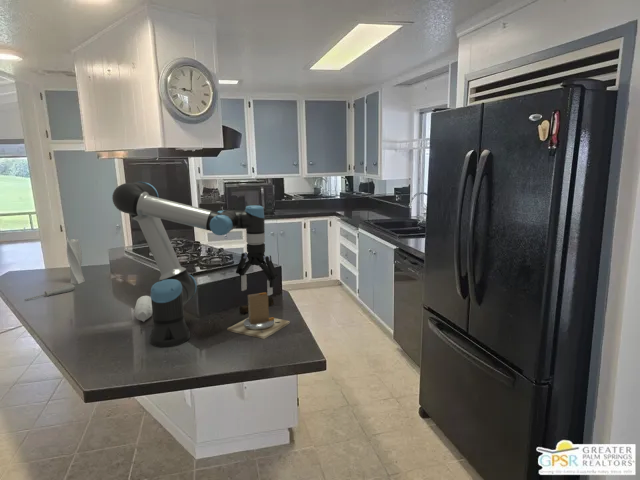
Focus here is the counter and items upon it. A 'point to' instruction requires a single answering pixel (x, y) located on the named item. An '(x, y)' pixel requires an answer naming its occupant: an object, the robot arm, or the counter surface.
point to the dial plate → (258, 333)
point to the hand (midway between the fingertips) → (256, 292)
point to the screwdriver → (57, 291)
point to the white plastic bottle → (143, 308)
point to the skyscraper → (75, 261)
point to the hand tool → (245, 308)
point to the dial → (258, 312)
